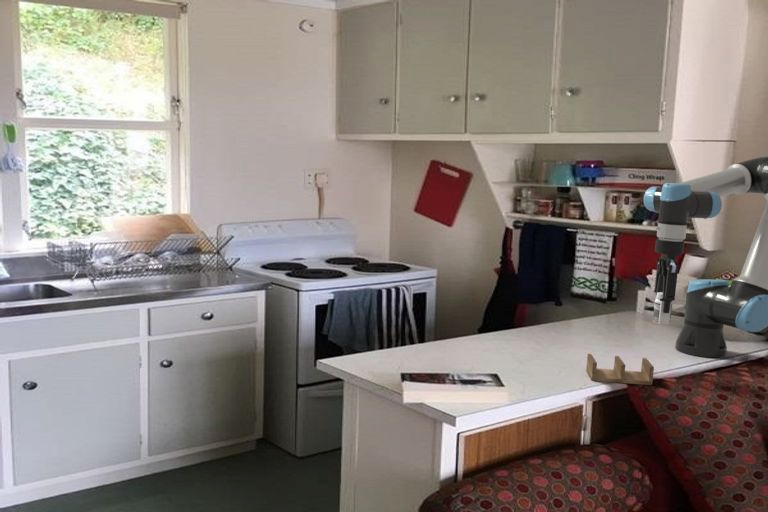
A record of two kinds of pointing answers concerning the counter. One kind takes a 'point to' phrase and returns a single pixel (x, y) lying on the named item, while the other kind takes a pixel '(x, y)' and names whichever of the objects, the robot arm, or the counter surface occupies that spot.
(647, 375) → the rack
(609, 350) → the counter surface
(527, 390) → the counter surface
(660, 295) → the pill bottle
